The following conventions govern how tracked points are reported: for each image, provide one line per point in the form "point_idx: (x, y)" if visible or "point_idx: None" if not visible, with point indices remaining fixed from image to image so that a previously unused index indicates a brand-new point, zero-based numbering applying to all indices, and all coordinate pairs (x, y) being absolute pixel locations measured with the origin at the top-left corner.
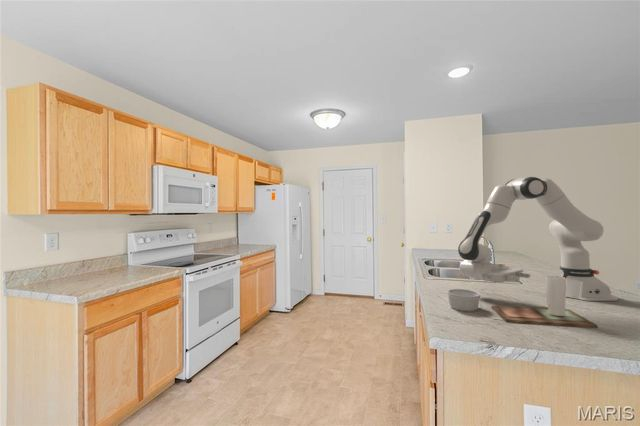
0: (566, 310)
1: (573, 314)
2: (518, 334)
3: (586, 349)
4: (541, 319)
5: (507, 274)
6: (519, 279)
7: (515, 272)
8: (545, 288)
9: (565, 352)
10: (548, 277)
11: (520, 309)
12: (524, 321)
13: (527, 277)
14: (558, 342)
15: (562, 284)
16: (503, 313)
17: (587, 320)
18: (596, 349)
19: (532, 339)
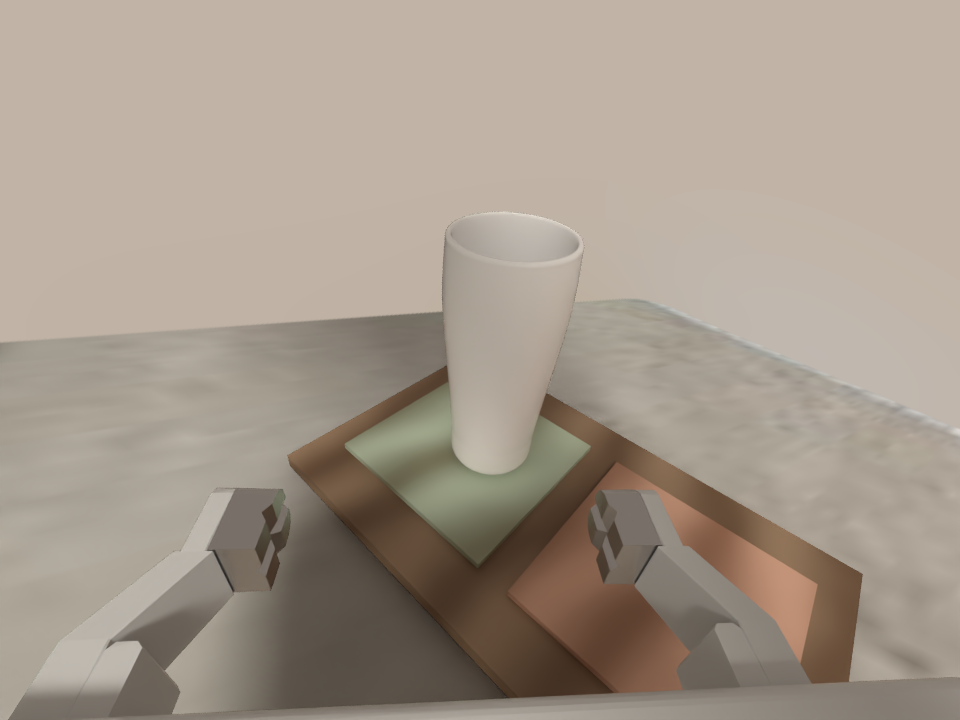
0: (325, 458)
1: (406, 412)
2: (867, 468)
3: (697, 342)
4: (626, 469)
5: (720, 692)
6: (591, 509)
7: (293, 714)
8: (549, 349)
9: (778, 358)
10: (492, 271)
11: (603, 622)
12: (742, 508)
13: (286, 531)
14: (743, 382)
15: (530, 253)
16: (810, 664)
17: (439, 375)
18: (668, 333)
19: (829, 425)
